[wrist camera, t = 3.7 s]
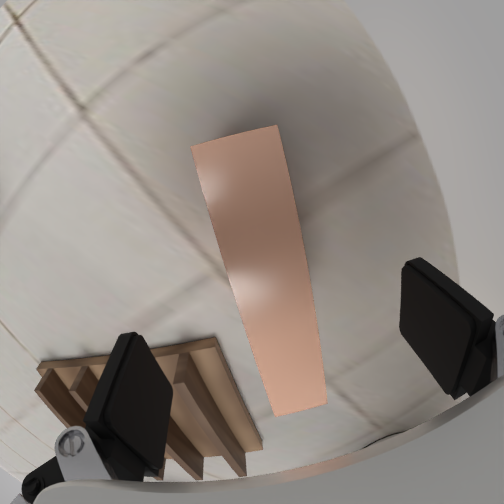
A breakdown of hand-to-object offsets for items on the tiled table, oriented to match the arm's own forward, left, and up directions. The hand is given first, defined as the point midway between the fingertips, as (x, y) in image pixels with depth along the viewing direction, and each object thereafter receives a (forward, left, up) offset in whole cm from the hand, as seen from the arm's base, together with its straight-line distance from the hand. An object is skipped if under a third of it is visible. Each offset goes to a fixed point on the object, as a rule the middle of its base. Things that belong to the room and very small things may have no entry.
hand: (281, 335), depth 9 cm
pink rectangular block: (0, 0, -14) cm, 14 cm away
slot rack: (+18, +19, -14) cm, 30 cm away
